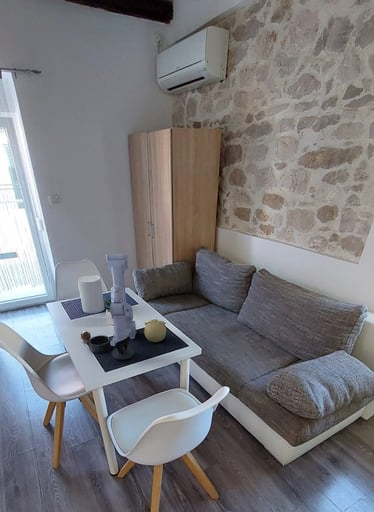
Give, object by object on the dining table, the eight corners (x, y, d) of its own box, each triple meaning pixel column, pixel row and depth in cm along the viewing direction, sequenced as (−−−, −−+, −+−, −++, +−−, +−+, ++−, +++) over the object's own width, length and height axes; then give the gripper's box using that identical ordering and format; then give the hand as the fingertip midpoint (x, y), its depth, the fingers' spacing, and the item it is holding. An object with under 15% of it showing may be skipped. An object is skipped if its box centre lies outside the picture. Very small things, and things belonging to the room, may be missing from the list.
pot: (112, 343, 163) (111, 335, 160) (108, 353, 154) (107, 345, 152) (93, 342, 163) (92, 335, 161) (88, 353, 155) (86, 345, 152)
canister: (101, 313, 193) (97, 282, 182) (80, 313, 193) (74, 281, 182) (106, 304, 205) (102, 275, 194) (86, 304, 205) (81, 274, 194)
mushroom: (92, 339, 166) (91, 329, 163) (90, 344, 162) (88, 334, 158) (83, 339, 166) (81, 329, 163) (80, 344, 162) (78, 333, 159)
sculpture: (166, 333, 173) (166, 316, 167) (165, 344, 163) (165, 326, 157) (146, 333, 172) (144, 315, 167) (144, 344, 162) (142, 326, 157)
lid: (133, 348, 158) (133, 339, 155) (134, 359, 149) (134, 350, 146) (111, 349, 156) (110, 341, 153) (111, 361, 147) (110, 352, 144)
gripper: (121, 319, 151) (124, 343, 158) (103, 331, 140) (107, 357, 147) (133, 321, 149) (135, 346, 156) (116, 335, 137) (119, 360, 145)
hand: (122, 351), depth 151 cm, fingers closed on lid, 2 cm apart
